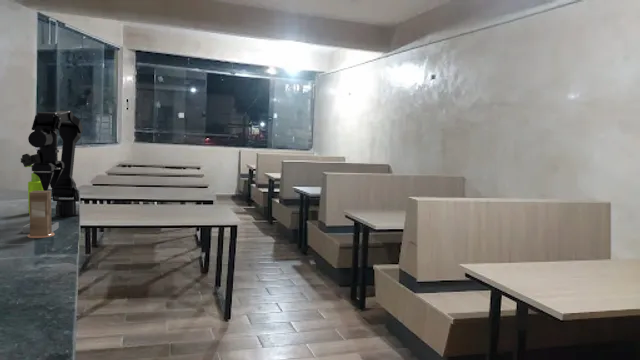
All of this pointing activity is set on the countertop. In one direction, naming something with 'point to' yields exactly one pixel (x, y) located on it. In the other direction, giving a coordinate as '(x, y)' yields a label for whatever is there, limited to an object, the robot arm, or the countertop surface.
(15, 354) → the countertop surface
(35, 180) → the soap dispenser
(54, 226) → the gray tray
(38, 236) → the brown curved piece
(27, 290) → the countertop surface
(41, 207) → the walnut box
